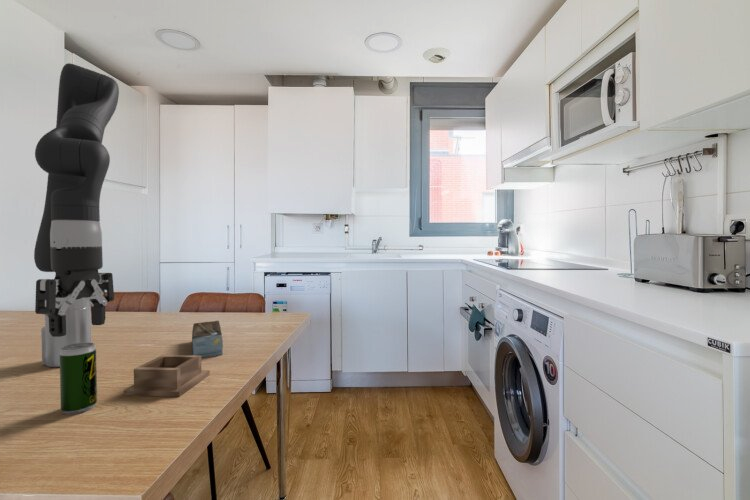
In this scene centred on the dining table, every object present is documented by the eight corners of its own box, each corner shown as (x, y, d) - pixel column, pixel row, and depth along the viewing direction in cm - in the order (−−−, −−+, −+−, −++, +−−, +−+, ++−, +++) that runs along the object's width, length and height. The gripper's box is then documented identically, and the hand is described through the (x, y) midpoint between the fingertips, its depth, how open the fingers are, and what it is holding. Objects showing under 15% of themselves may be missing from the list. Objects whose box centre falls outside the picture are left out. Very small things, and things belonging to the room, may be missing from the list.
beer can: (58, 418, 64) (56, 352, 64) (63, 406, 69) (62, 344, 68) (95, 410, 67) (94, 347, 67) (98, 399, 72) (97, 340, 71)
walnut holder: (123, 395, 74) (123, 371, 74) (161, 373, 86) (161, 353, 85) (179, 396, 73) (179, 372, 73) (209, 374, 85) (209, 353, 85)
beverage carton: (191, 359, 96) (191, 335, 96) (192, 342, 113) (192, 321, 113) (223, 355, 100) (222, 332, 100) (220, 339, 117) (219, 319, 117)
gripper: (90, 245, 75) (92, 321, 75) (18, 245, 60) (21, 340, 61) (124, 244, 74) (126, 321, 75) (61, 245, 60) (63, 340, 60)
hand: (79, 330), depth 68 cm, fingers open, 8 cm apart
